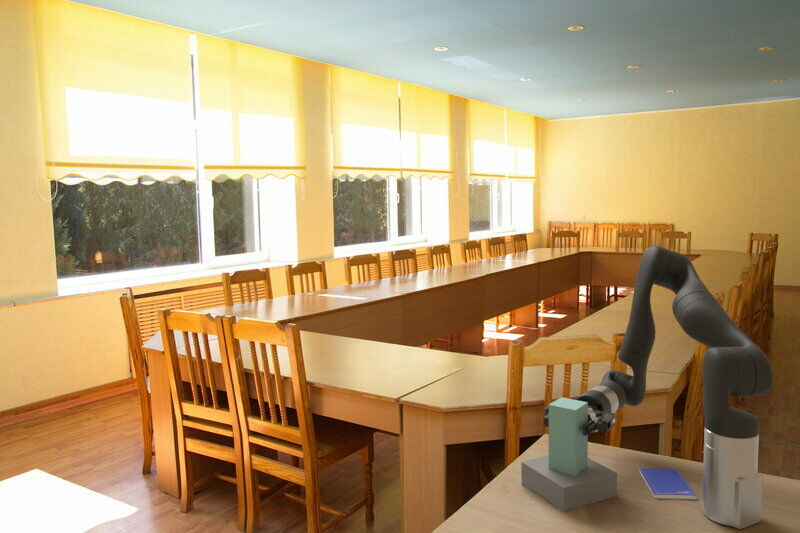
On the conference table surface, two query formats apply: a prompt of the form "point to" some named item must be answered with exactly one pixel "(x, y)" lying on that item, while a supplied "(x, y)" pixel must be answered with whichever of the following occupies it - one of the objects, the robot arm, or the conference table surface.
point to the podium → (569, 483)
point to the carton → (568, 436)
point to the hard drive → (667, 483)
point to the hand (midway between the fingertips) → (564, 426)
